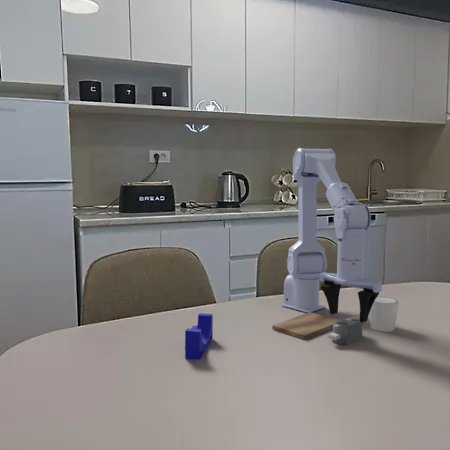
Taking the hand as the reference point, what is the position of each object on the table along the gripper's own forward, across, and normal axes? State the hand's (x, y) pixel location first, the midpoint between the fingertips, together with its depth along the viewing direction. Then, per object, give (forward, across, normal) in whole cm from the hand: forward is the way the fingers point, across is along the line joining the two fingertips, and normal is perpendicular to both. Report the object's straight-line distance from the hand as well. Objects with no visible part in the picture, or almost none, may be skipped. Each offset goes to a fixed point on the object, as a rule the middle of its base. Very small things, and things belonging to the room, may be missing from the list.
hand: (348, 317), depth 105 cm
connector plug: (+5, 0, 0) cm, 5 cm away
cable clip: (+5, -20, -29) cm, 35 cm away
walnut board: (+5, -11, 0) cm, 12 cm away
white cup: (+5, +2, +13) cm, 14 cm away
